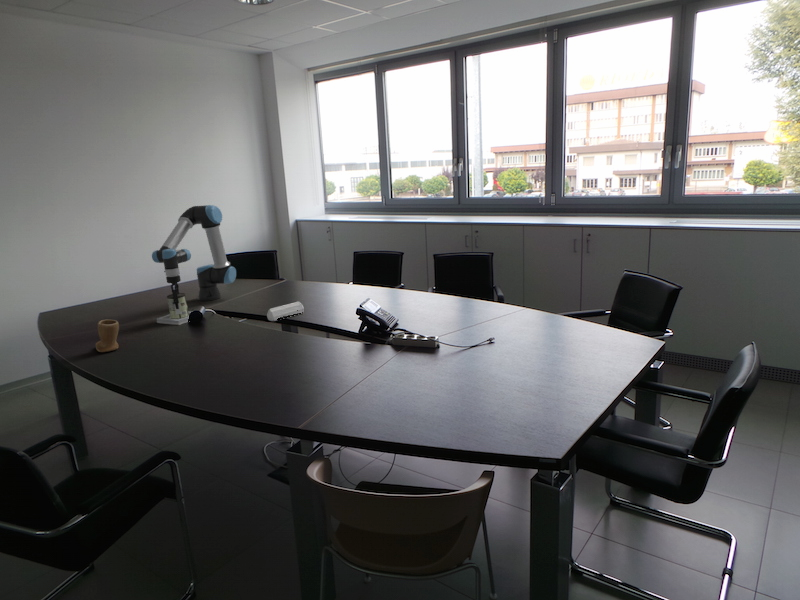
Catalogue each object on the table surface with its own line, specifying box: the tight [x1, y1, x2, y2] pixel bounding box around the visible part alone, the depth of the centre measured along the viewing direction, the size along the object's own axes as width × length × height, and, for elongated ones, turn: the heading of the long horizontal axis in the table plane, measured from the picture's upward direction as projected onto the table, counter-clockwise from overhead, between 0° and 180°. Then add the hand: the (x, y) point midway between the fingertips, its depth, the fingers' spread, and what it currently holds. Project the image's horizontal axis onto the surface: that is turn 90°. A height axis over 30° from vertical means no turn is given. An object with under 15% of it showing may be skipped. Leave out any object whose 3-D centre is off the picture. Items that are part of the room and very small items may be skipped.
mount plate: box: [156, 310, 192, 326], centre depth 314 cm, size 18×18×2 cm
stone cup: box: [95, 319, 120, 353], centre depth 264 cm, size 15×12×15 cm
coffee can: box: [166, 292, 189, 320], centre depth 312 cm, size 10×10×14 cm
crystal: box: [266, 301, 305, 322], centre depth 306 cm, size 7×7×24 cm
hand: (178, 311), depth 313 cm, fingers open, 11 cm apart
